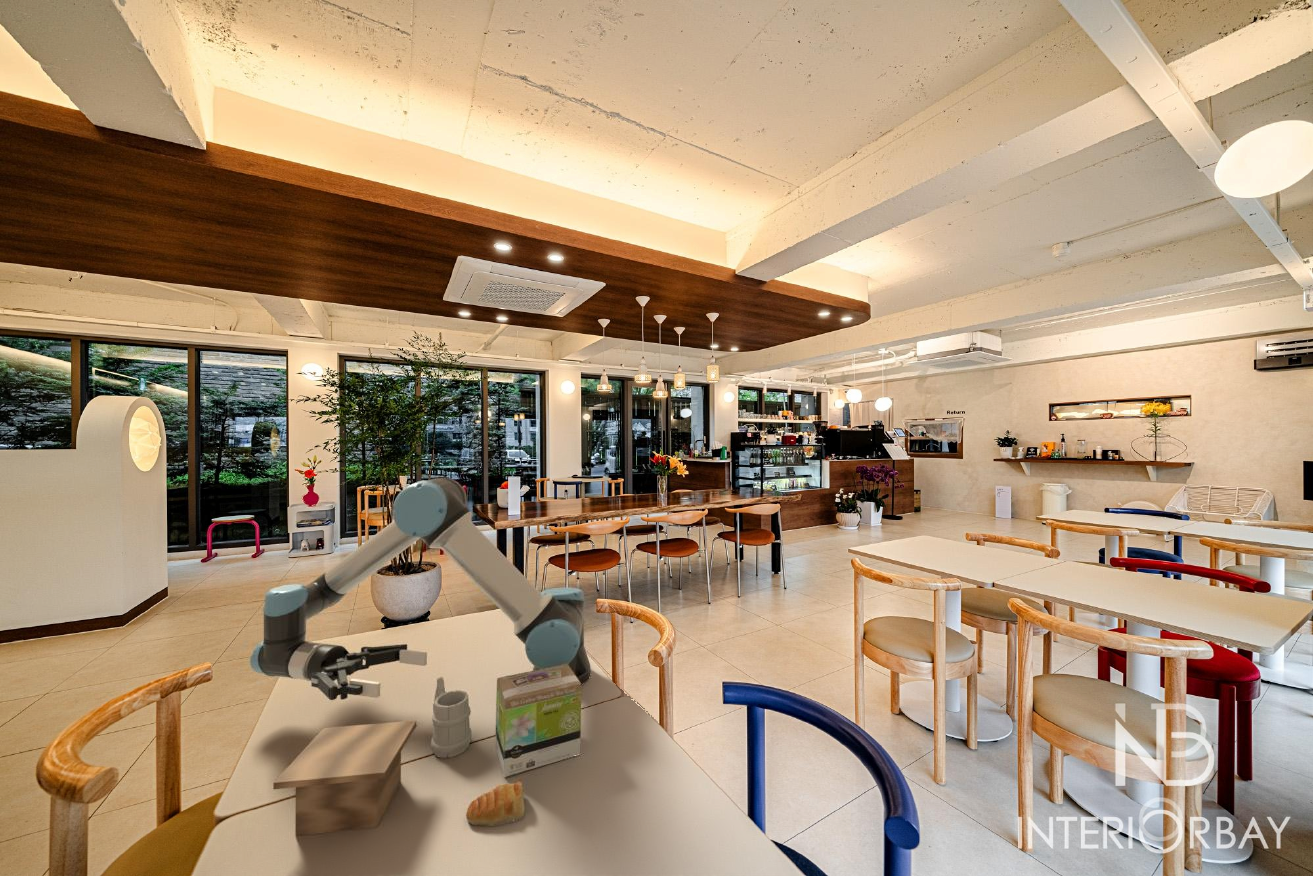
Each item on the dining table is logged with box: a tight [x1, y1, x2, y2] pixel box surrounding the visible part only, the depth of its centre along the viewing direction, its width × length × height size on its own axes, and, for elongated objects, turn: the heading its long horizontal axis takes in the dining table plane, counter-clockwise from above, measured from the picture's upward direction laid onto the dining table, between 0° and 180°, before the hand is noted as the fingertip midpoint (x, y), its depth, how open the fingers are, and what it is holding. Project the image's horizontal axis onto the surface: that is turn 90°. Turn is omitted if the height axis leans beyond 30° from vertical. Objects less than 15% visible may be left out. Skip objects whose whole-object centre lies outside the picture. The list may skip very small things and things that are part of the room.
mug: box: [430, 676, 473, 759], centre depth 98 cm, size 8×12×12 cm, turn 46°
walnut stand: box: [272, 720, 418, 837], centre depth 81 cm, size 16×14×10 cm
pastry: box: [465, 780, 526, 827], centre depth 80 cm, size 9×7×4 cm
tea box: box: [494, 664, 582, 778], centre depth 95 cm, size 15×10×15 cm, turn 117°
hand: (403, 673), depth 100 cm, fingers open, 13 cm apart
